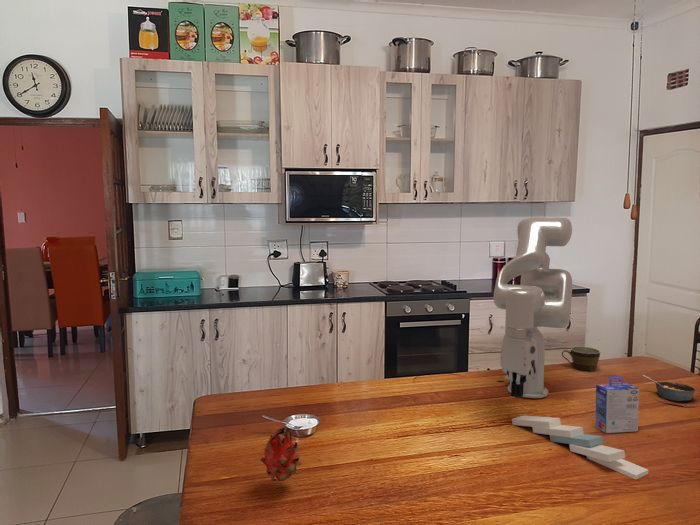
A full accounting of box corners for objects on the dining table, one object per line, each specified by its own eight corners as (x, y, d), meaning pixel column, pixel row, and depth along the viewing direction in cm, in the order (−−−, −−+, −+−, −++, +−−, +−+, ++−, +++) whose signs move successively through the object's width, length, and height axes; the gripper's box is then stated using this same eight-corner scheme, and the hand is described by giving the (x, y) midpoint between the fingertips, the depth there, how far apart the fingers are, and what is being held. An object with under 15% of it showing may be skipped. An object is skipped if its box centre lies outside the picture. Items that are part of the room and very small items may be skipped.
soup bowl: (687, 415, 153) (688, 390, 152) (634, 398, 166) (635, 376, 166) (712, 405, 160) (713, 382, 160) (659, 391, 174) (660, 369, 173)
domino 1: (511, 419, 144) (548, 422, 135) (522, 415, 147) (559, 418, 137) (512, 424, 144) (549, 428, 134) (523, 421, 147) (561, 424, 137)
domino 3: (549, 434, 134) (589, 440, 123) (562, 431, 136) (602, 436, 126) (550, 441, 134) (590, 447, 123) (563, 437, 136) (603, 442, 126)
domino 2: (532, 426, 139) (569, 430, 129) (544, 423, 141) (582, 427, 131) (533, 432, 139) (570, 437, 128) (545, 429, 141) (583, 433, 131)
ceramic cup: (597, 374, 192) (598, 348, 191) (601, 382, 183) (602, 354, 182) (560, 370, 196) (561, 345, 196) (561, 378, 187) (562, 351, 186)
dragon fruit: (266, 494, 107) (266, 439, 106) (256, 476, 115) (256, 424, 114) (305, 486, 111) (305, 432, 110) (293, 468, 118) (292, 418, 117)
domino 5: (587, 454, 124) (635, 475, 114) (599, 449, 127) (648, 469, 116) (586, 460, 124) (635, 482, 114) (599, 455, 127) (648, 476, 116)
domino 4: (569, 444, 128) (608, 454, 117) (584, 440, 130) (624, 450, 119) (570, 451, 128) (609, 461, 117) (585, 447, 130) (625, 457, 118)
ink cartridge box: (625, 424, 145) (627, 374, 144) (639, 432, 140) (641, 380, 138) (593, 426, 144) (595, 375, 142) (605, 434, 138) (608, 381, 137)
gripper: (550, 336, 140) (547, 401, 141) (507, 326, 152) (505, 386, 154) (532, 339, 136) (529, 407, 137) (489, 329, 148) (487, 391, 150)
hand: (517, 396), depth 145 cm, fingers closed
